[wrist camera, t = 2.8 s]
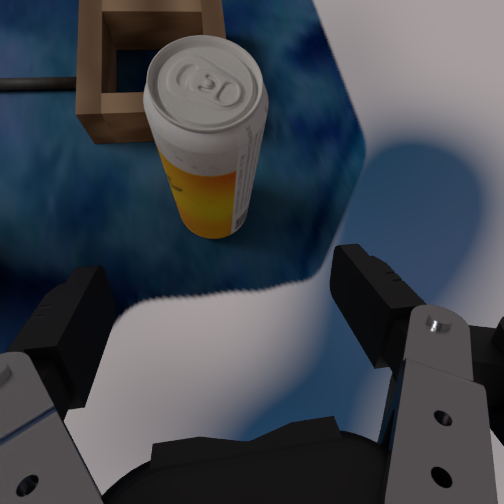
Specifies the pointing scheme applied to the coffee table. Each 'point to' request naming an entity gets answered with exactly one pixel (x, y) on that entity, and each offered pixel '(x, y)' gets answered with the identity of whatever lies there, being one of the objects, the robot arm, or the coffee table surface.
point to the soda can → (207, 128)
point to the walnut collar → (104, 59)
